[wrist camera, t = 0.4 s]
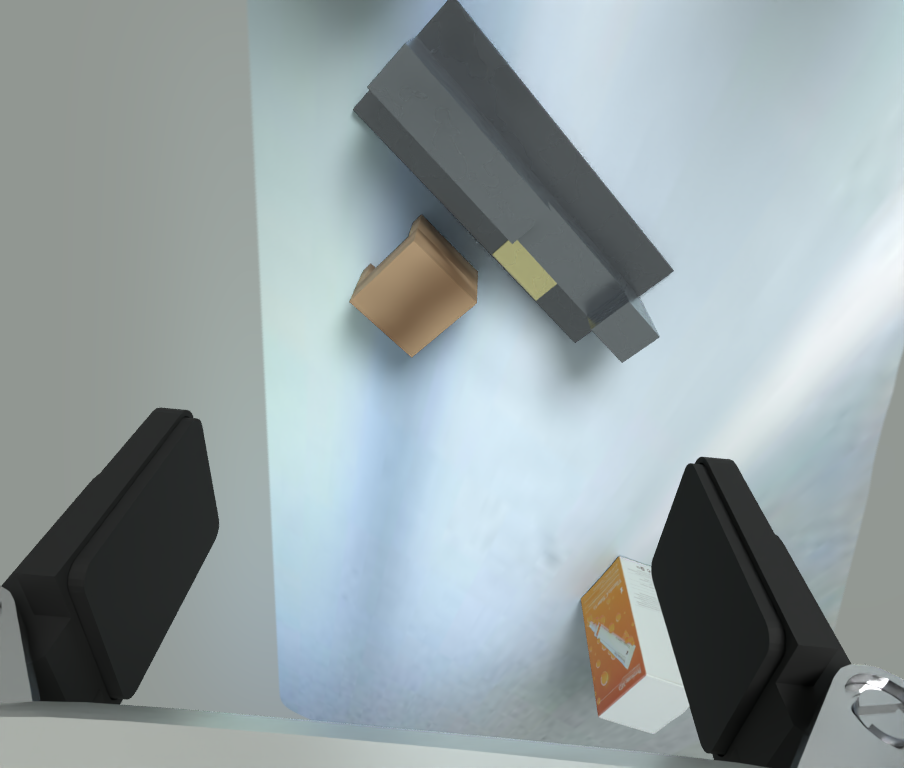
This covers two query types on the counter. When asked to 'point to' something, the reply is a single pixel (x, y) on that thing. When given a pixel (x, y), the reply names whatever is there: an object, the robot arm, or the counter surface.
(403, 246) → the tan slotted wooden block
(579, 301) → the notched rail
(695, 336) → the counter surface
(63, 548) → the robot arm
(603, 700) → the small box
